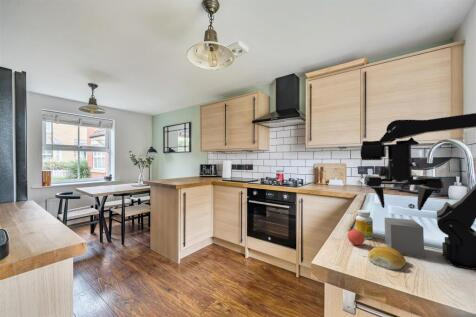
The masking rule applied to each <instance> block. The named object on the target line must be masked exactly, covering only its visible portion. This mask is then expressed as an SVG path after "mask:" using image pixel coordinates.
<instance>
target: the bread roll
mask: <svg viewBox="0 0 476 317" xmlns="http://www.w3.org/2000/svg"><path fill="white" fill-rule="evenodd" d="M367 258H368V260H369V262H370V263H371V264H373V265H376V266H378V267H380V268H384V269H387V270H392V271H395V270H396V271H397V270H401V269H402V268H404V266H405V265H406V262H407V260H406V258H405V257H404V255H403V254H401V253H400V252H398V251H397V250H395V249H393V248H390V247H388V246H377V247H373V248H372V249H371V250H369V252H368V253H367Z"/></svg>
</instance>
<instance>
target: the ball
mask: <svg viewBox="0 0 476 317" xmlns="http://www.w3.org/2000/svg"><path fill="white" fill-rule="evenodd" d="M347 240H348V241H349V242H350V243H351V244H353V245H355V246H361V245H363V244H364V242H365V240H366V239H365V237H364V235H363V233H362V232H361V231H359V230H356V228H354V229H353V228H352V229H350V230H349V231H348V232H347Z"/></svg>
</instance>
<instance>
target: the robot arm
mask: <svg viewBox="0 0 476 317" xmlns="http://www.w3.org/2000/svg"><path fill="white" fill-rule="evenodd" d="M465 129H476V112H473V113H467V114H466V113H465V114H460V115H459V114H458V115H452V116H445V117H438V118H430V119H395V120H393V121H391V122H389V123H388V125H387V127H386V132H385V133H384V134H383V135H382V136H381V138H380V139H379V140H363V141H362V142H361V143H362V145H361V148H360V158H361V161H382V160H383V158H386V157H388V158H387V159H388V160H387V161H388V162H387V168H386V166H379V167H378V171H377V172H378V176H376V175H375V176H374V175H373V176H372V175H371V176H369V175H367V176H365V177H364V179H363V180H364V185H365V186H367V187H369V188H370V189H372V190H374V192H375V194H376V195H377V198H378V200H379V203H380V205H381V208H383V209H384V208H385V206H386V205H385V195H384V187H382V186H381V185H397V186H398V185H399V186H400V185H401V186H404V185H405V186H416V189H417V205H416V206H417V210H418V211H422V209H423V208H424V206H425V204H426V202H427V201H428V199H429V198H430V196H431V195H432V194H433V193H434V192H438V189H444V181H443V179H441V178H440V177H435V176H419V177H418V178H415V179H414V177H413V176H412V175H413V173H412V172H413V171H412V167H413V164H414V163H412V146H418V145H420V143H419V142H418V141H416V140H415V139H414V138H413V137H416V136H420V135H424V134H428V133H429V134H430V133H437V132H445V131H446V132H448V131H456V130H457V131H458V130H465ZM403 139H404V140H403ZM394 141H395V144H394V143H393V142H394ZM392 143H393V144H392ZM475 222H476V183H475V184H474V185H473V186H472V187H471V189H469V190H468V191H467V193H466V194H465V195H463V197H462V198H460V200H458V201H457V202H455V203H453V204H451V203H449V202H448V201H445V203H444V205H443V206H442V208H441V209H438V210H436V225H437V227H438V229H439V231H441V232H442V233H443V234H444V235H446V236H444V242H442V243H441V244H442V254H441V256H442V257H443V258H444V259H445V260H446V261H447V262H448V263H450V264H451V265H452V266H453V267H456V268H457V267H458V268H464V269H470V270H476V230H475V229H474V228H472V227H473V225H474V223H475Z"/></svg>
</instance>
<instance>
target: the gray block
mask: <svg viewBox="0 0 476 317" xmlns="http://www.w3.org/2000/svg"><path fill="white" fill-rule="evenodd" d="M424 239H425V238H424V227H423V226H422V225H421V224H419V223H418V222H417V221H415V220H414V219H406V218H397V217H396V218H393V217H384V243H385V245H386V247H390V248H393V249H395V250H397V251H398V252H400V253H401V254H402V255H403V256H410V257H411V256H412V257H417V258H423V259H424V258H425V240H424Z"/></svg>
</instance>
